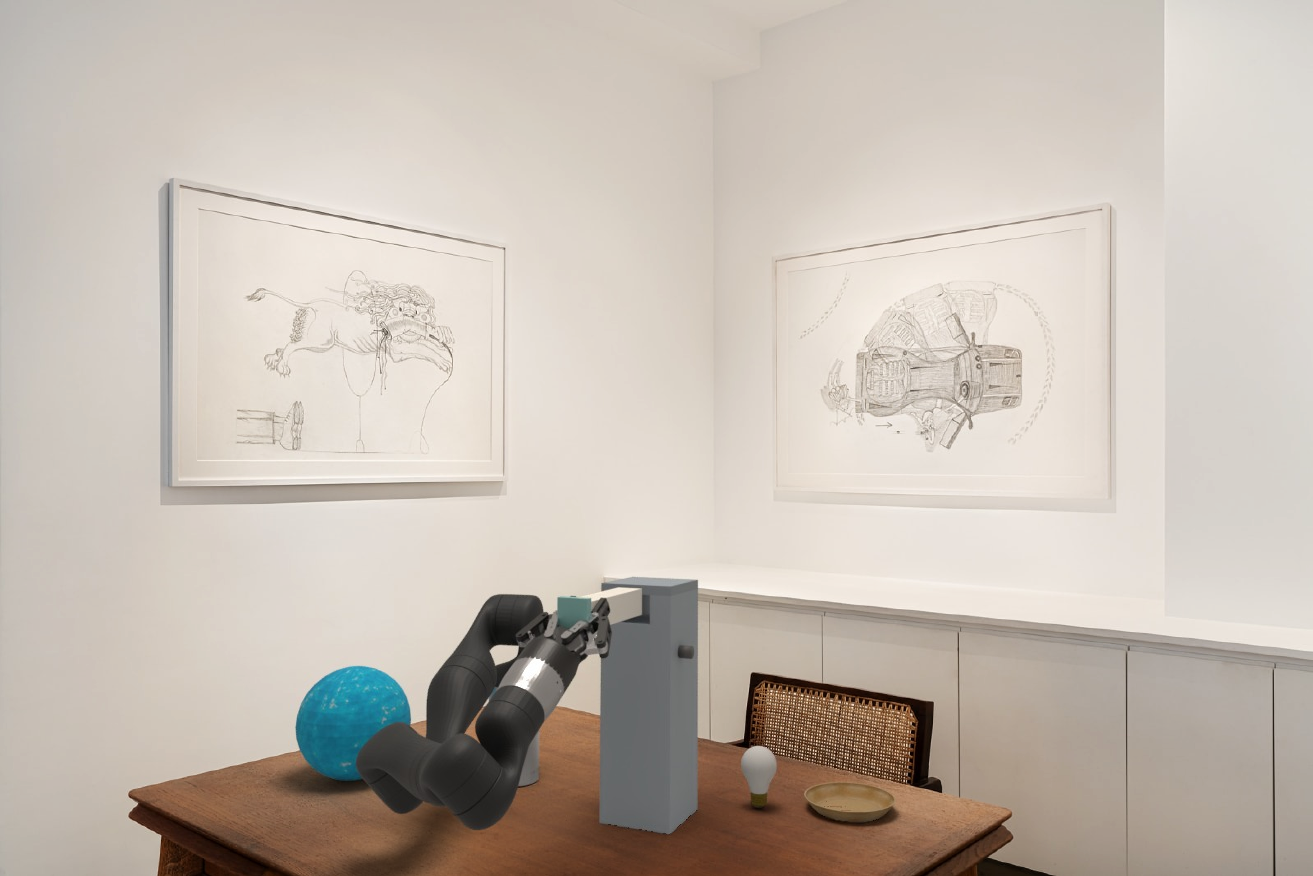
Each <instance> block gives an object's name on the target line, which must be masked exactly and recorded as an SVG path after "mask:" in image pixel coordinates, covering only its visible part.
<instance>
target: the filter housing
mask: <svg viewBox="0 0 1313 876" xmlns="http://www.w3.org/2000/svg"><path fill="white" fill-rule="evenodd" d="M600 587H601V588H600V589H601V591H600V592H602V591H606V590H610V589H614V588H618V587H621V588H640V589H642V615H639V616H636V617H633V618H630V619H627V620H624V621H621V622H618V623H615V624H611V625H610V626H611V630H612V636H611V643H610V649H609V655H608V657H607V658H600V691H599V692H600V699H599V701H600V703H599V705H600V708H599V709H600V715H599V717H600V718H599V719H600V721H599V722H600V723H599V730H600V731H599V813H598V814H599V818H598V819H599V821H598V822H599V824H603V825H608V824H611V825H610V826H614V825H617V826H616V827H621V828H627V829H628V827H629V829H633V830H634V829H635V830H639V829H642V830H641V831H645V830H647V831H646V832H651V831H653V833H658V834H663V833H666V834H665V835H669V834H670V833H671V834H673V832H674V831H675V830H676V829H678V828H679V827H680V826H681V825H682V824H683V823H685V821H687V820H686V819H689V818H690V817H691V816H692V815H693V814H694V813H696V812H697V811H698V797H699V796H698V791H699V790H698V774H699V773H698V772H699V771H698V769H699V768H698V765H699V764H698V760H699V759H698V754H699V753H698V751H699V749H698V747H699V745H698V744H699V743H698V741H699V740H698V739H699V737H698V735H699V727H698V726H699V725H698V721H699V718H698V717H699V716H698V715H699V714H698V712H699V711H698V710H699V708H698V707H699V706H698V705H699V703H698V701H699V695H698V693H699V692H698V691H699V690H698V689H699V686H698V685H699V683H698V680H699V665H698V664H699V657H698V656H699V580H698V579H694V578H693V579H691V578H688V579H687V578H669V577H667V578H666V577H646V576H629V577H624V578H619V579H615V580H610V581H603V582H601V586H600ZM696 810H697V811H696ZM690 815H691V816H690ZM689 816H690V817H689ZM688 817H689V818H688ZM680 824H681V825H680ZM679 825H680V826H679ZM678 826H679V827H678ZM677 827H678V828H677ZM671 834H670V835H671Z"/></svg>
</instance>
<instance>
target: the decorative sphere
mask: <svg viewBox="0 0 1313 876" xmlns="http://www.w3.org/2000/svg"><path fill="white" fill-rule="evenodd" d="M301 701H302V702H301V703H300V706H299V709H298V712H297V716H296V720H295V721H296V722H295V726H294V727H295V738H296V742H297V746H298V749H299V751H300V752H301V754H302V757H303V759H304V760H305V761H306V763H308V764H309V766H310V767H311V768H312V769H314V770H315V771H316V772H317V773H319V774H321V775H322V776H323V777H328V778H330V779H334V780H335V781H336V780H337V781H341V782H342V781H345V782H346V781H347V782H348V781H359V780H363V778H362V777H361V776H360V774H359V773H358V771H357V767H356V758H357V755H358V753H359V751H360V750H361V748H362V747H363V746H364V745H365V743H366V742H367V741H368V740H369V739H370V738H371V737H372V736H373V735H375V734H376V733H377V732H378V731H380V730H381V729H383V728H384V727H386V726H388V725H389V724H392V723H395V722H404V723H406V724H408V725H409V726H410V727H411V725H412V724H411V723H412V717H411V716H412V715H411V707H410V706H411V705H410V704H409V700H408V696H407V694H406V693H405V691H404V689H403V688H402V686H401V685H400V684H399V683H398V682H397V681H396V679H395V678H393V677H392V676H390V675H389V674H388V673H386V672H384V671H383V670H379V669H378V668H376V667H372V666H371V667H370V666H365V665H352V666H351V665H350V666H346V667H343V668H339V669H336V670H333V671H332V672H330V673H327V674H325V675H324V676H323V677H321V679H319V680H318V681H317V682H316V683H314V684H313V686H312V687H311V688H310V689H309V690H308V692H306V694H305V696H304V698H303V700H301Z"/></svg>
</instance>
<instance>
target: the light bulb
mask: <svg viewBox="0 0 1313 876" xmlns="http://www.w3.org/2000/svg"><path fill="white" fill-rule="evenodd" d="M740 766H741V772H742V774H743V775H744V777H745V779H746V781H747V784H748V787H749V791H750V803H751V804H752V805H753V806H754V807H755V808H756V809H762V808H763V807H764V806H766V805H767V804H768V803H767V802H768V792H769V791H768V790H769V787H770V784H771V781H772V779H773V778H774V777H775V774H776V773H777V766H778V765H777V759H776V756H775V754H774V753H773V751H772V750H770V749H769V748H767V747H765V746H762V745H755V746H754V745H753V746H752V747H750V748H748V749H747V750H746V751H745V752H744V753H743V755H742V757H741V761H740Z"/></svg>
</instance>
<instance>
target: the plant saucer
mask: <svg viewBox="0 0 1313 876" xmlns="http://www.w3.org/2000/svg"><path fill="white" fill-rule="evenodd" d="M803 795H804V798H805V799H806V801H807V802H808V804H809V805H810V806H811V807H812V809H814V811H816V812H817V813H818V814H819V815H821V816H822V815H823V817H824V816H826V817H825V818H827V817H828V818H827V819H830V818H831V819H830V820H833V819H837V820H836V821H838V820H842V821H841V822H844V821H850V822H849V823H868V821H869V822H874V821H877V820H879V819H880V818H882V817H884V816H885V814H888V812H889V811H890V810H891V809H892V808H893V806H894V805H895V804H896V802H897V800H896V797H895V795H894V794H893V793H891V791H888V790H886V789H884V788H881V787H878V786H875V785H872V784H871V785H870V784H867V783H859V782H850V781H849V782H848V781H836V782H835V781H831V782H824V783H819V784H814V785H812V786H811V787H808V788H807V789H805V791H804V794H803ZM826 801H827V802H826ZM824 806H825V807H824ZM827 806H829V807H827ZM830 806H842V808H840V807H838V808H837V807H830ZM845 806H846V807H845ZM841 810H851V811H841ZM876 819H877V820H876ZM873 820H874V821H873Z"/></svg>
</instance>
